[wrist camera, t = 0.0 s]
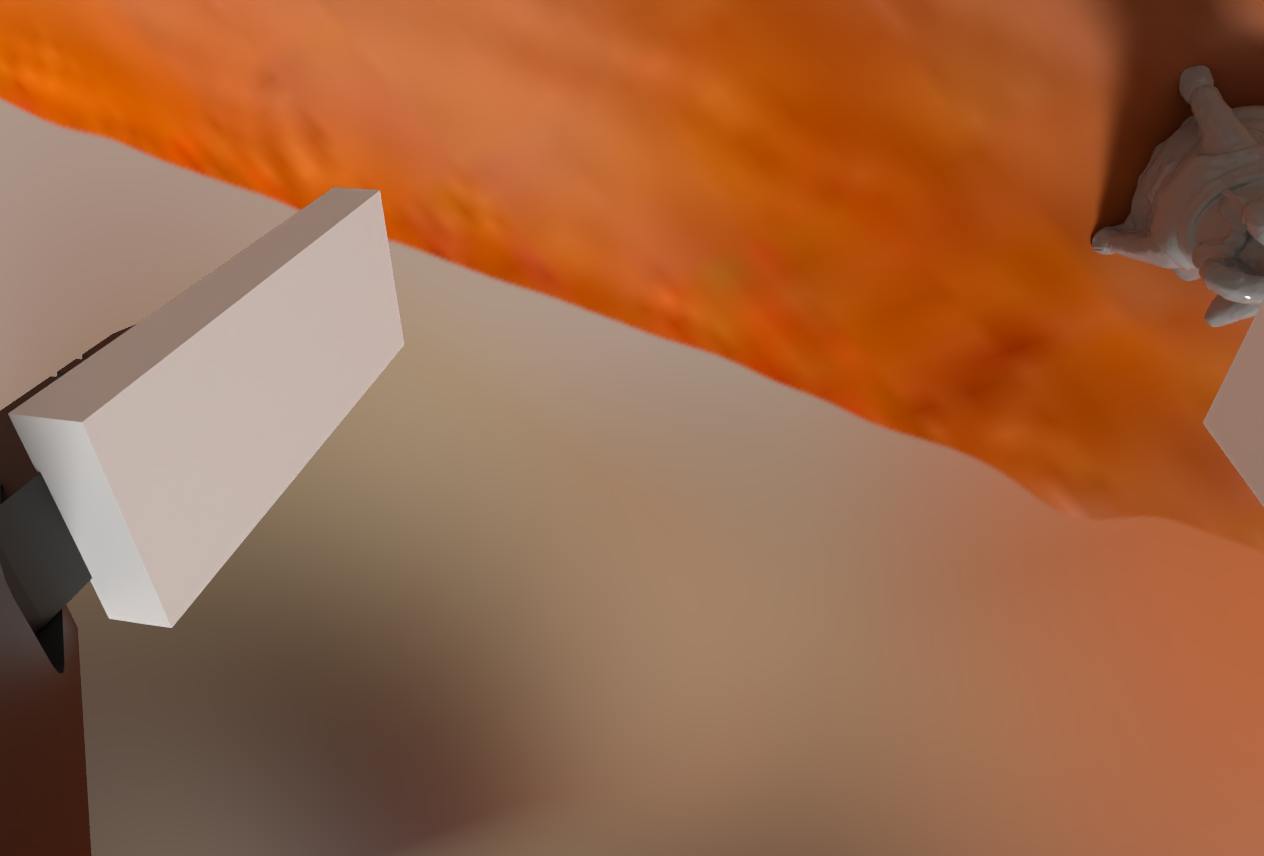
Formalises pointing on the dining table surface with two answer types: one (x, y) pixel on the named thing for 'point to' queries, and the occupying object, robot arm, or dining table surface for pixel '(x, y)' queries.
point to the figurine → (1203, 203)
